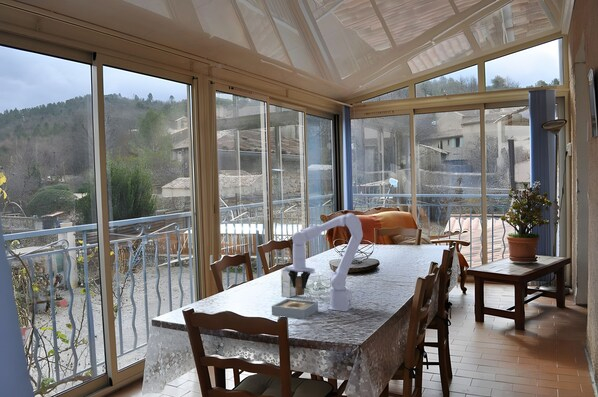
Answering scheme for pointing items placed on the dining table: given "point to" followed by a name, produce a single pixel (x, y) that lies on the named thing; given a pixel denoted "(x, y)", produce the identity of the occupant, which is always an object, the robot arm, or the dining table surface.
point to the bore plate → (296, 305)
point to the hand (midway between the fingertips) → (299, 287)
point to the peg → (298, 286)
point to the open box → (294, 309)
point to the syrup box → (287, 284)
